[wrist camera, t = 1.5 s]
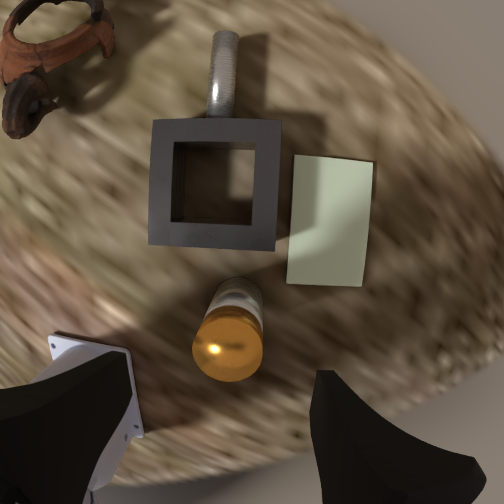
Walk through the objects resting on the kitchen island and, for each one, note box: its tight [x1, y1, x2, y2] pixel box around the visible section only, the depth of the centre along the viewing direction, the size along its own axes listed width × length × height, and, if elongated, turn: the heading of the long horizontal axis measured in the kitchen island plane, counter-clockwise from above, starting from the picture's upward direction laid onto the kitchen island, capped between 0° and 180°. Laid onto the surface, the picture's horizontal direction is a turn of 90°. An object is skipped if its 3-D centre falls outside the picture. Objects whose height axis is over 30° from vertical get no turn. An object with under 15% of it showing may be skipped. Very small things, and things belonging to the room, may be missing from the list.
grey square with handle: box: [148, 31, 282, 252], centre depth 17 cm, size 13×7×3 cm, turn 177°
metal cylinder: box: [192, 278, 263, 382], centre depth 17 cm, size 3×3×7 cm
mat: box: [286, 155, 373, 287], centre depth 19 cm, size 8×5×1 cm, turn 177°
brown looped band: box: [0, 0, 115, 139], centre depth 15 cm, size 12×10×8 cm
